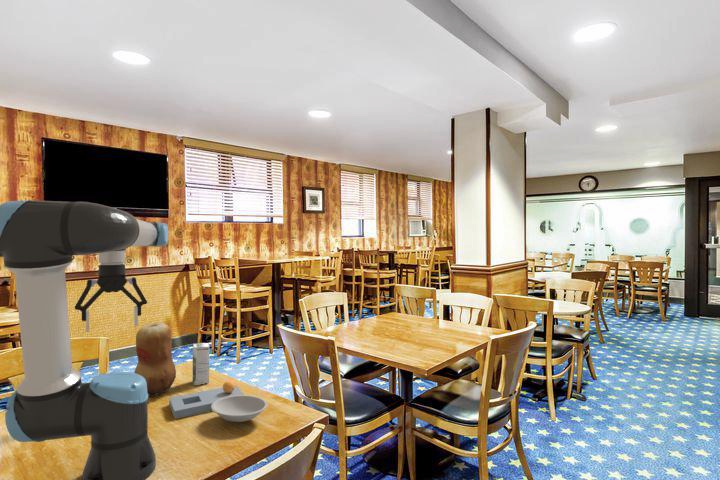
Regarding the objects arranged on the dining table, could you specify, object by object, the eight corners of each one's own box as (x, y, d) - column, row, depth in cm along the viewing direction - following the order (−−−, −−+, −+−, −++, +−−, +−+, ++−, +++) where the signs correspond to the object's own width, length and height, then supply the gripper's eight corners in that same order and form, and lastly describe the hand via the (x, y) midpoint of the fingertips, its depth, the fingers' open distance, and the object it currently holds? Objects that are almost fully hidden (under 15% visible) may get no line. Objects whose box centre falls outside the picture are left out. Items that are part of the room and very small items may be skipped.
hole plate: (245, 403, 138) (245, 396, 138) (174, 419, 126) (174, 411, 126) (235, 391, 148) (235, 384, 148) (169, 405, 136) (169, 397, 136)
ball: (236, 393, 140) (236, 381, 140) (224, 395, 138) (224, 384, 138) (233, 389, 143) (233, 378, 143) (221, 391, 141) (221, 380, 141)
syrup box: (192, 381, 158) (192, 343, 158) (208, 378, 161) (208, 342, 160) (193, 386, 153) (192, 347, 153) (209, 383, 155) (209, 345, 155)
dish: (277, 415, 129) (277, 399, 129) (250, 436, 116) (250, 419, 115) (230, 407, 135) (230, 392, 135) (199, 426, 122) (199, 409, 121)
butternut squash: (124, 398, 141) (123, 326, 141) (154, 384, 154) (153, 318, 154) (156, 403, 137) (156, 329, 137) (184, 389, 150) (184, 321, 150)
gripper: (152, 261, 144) (152, 321, 145) (65, 264, 130) (66, 330, 131) (155, 263, 138) (156, 325, 139) (64, 266, 124) (65, 335, 125)
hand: (112, 328), depth 135 cm, fingers open, 13 cm apart
